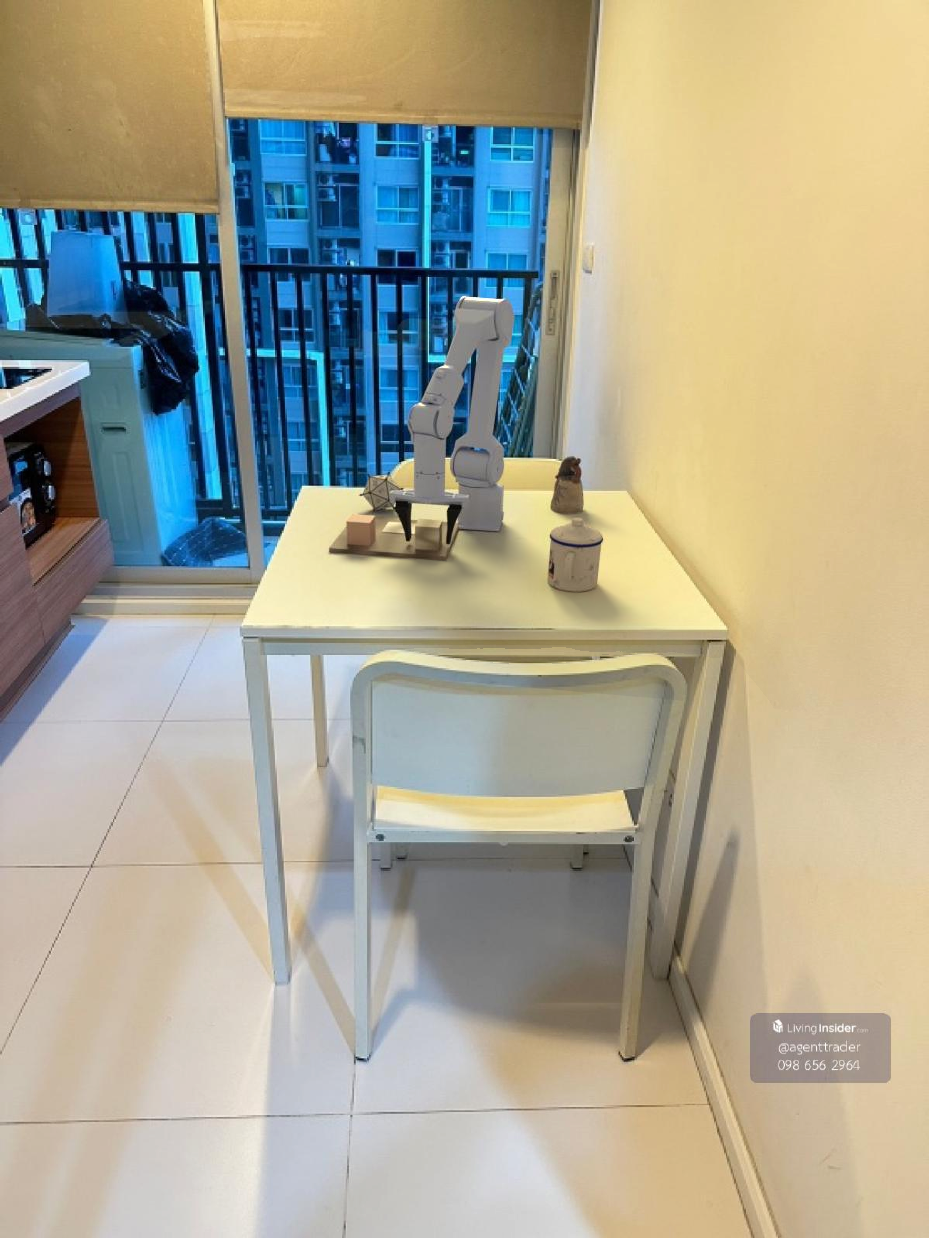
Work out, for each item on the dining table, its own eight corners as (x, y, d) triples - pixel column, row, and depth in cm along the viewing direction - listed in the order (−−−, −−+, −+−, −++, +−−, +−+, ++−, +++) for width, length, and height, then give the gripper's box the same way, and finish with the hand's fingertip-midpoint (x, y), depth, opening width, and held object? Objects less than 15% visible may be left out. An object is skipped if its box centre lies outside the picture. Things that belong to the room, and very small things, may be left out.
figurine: (569, 503, 189) (574, 451, 184) (589, 511, 183) (594, 458, 178) (544, 507, 185) (548, 454, 180) (563, 516, 180) (568, 461, 175)
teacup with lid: (551, 570, 150) (556, 508, 145) (601, 577, 148) (608, 514, 143) (538, 595, 139) (542, 529, 134) (591, 602, 137) (598, 536, 132)
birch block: (441, 542, 159) (442, 520, 157) (438, 550, 155) (438, 527, 153) (418, 541, 160) (419, 518, 158) (414, 548, 156) (414, 526, 154)
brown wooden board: (459, 526, 171) (459, 522, 171) (445, 560, 153) (445, 555, 153) (354, 519, 173) (354, 515, 173) (329, 552, 155) (328, 547, 155)
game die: (388, 528, 180) (400, 500, 172) (351, 513, 179) (361, 484, 171) (399, 498, 185) (411, 470, 177) (363, 484, 184) (374, 454, 176)
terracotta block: (375, 538, 161) (375, 515, 159) (370, 545, 156) (370, 523, 155) (352, 536, 161) (352, 514, 159) (347, 544, 157) (346, 521, 155)
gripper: (386, 473, 148) (386, 545, 154) (466, 478, 147) (464, 550, 153) (393, 464, 155) (394, 533, 160) (470, 469, 153) (468, 538, 159)
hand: (428, 541), depth 157 cm, fingers open, 7 cm apart
